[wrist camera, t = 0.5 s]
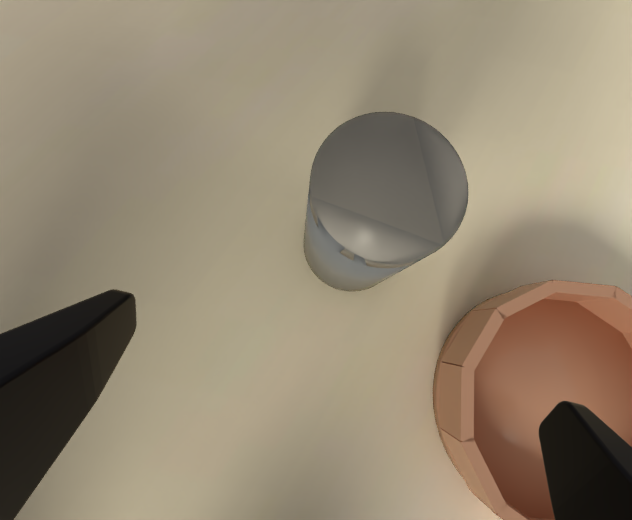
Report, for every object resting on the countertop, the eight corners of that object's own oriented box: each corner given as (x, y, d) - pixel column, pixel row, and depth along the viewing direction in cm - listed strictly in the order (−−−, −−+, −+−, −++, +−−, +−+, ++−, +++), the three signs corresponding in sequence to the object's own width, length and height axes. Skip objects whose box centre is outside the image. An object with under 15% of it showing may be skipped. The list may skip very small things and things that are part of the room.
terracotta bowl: (689, 455, 20) (768, 480, 17) (503, 568, 19) (549, 621, 15) (573, 256, 22) (625, 243, 19) (394, 345, 21) (414, 348, 17)
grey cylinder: (413, 267, 22) (496, 223, 13) (328, 307, 21) (353, 290, 12) (371, 185, 22) (422, 90, 14) (288, 220, 22) (283, 145, 13)
